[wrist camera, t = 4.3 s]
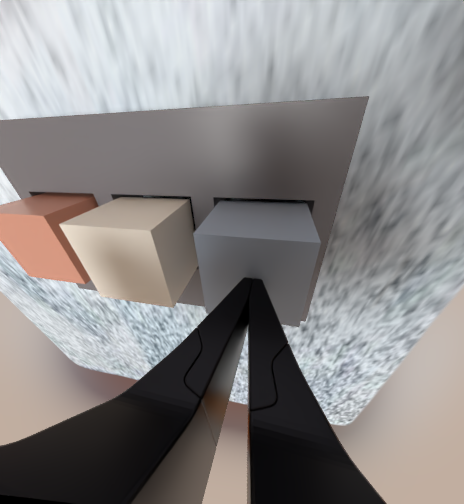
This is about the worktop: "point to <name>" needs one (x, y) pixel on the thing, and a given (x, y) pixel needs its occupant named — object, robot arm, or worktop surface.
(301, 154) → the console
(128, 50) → the worktop surface
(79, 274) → the brick key
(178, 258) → the ivory key
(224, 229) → the slate key
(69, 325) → the worktop surface
